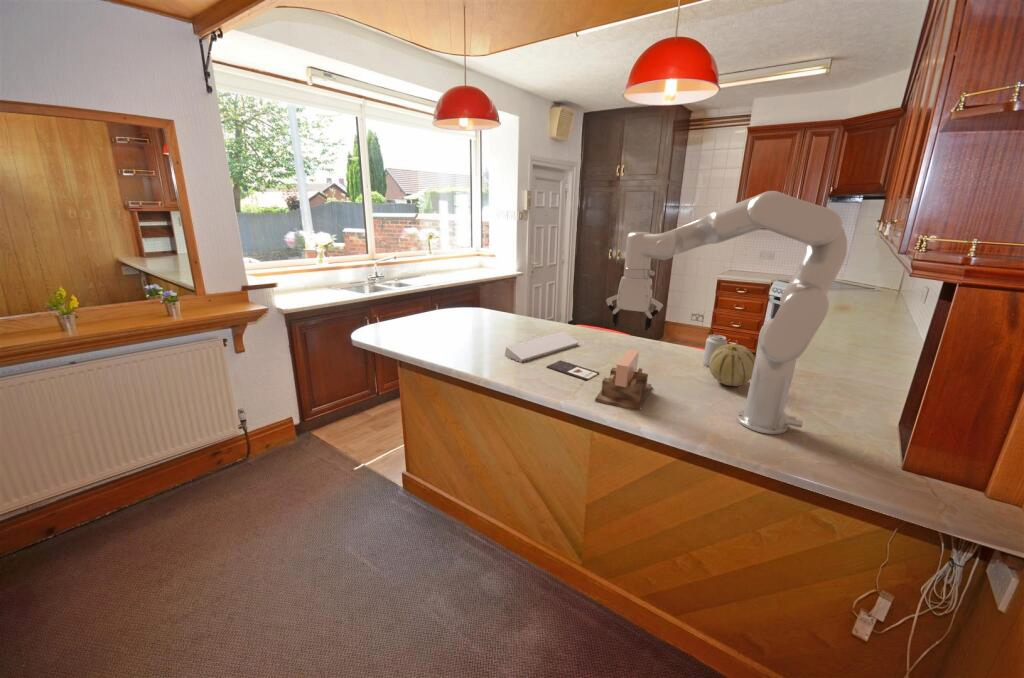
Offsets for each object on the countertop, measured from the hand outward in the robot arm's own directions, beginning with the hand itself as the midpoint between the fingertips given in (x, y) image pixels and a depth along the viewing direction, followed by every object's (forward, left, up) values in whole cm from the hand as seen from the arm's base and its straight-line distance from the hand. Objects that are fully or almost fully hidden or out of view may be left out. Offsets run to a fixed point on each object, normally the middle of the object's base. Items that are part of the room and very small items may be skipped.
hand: (631, 327), depth 132 cm
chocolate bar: (+22, -11, -24) cm, 35 cm away
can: (-25, -43, -24) cm, 55 cm away
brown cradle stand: (0, 0, -23) cm, 23 cm away
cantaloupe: (-31, -26, -24) cm, 47 cm away
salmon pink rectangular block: (0, 0, -17) cm, 17 cm away
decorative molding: (+42, -27, -24) cm, 55 cm away
